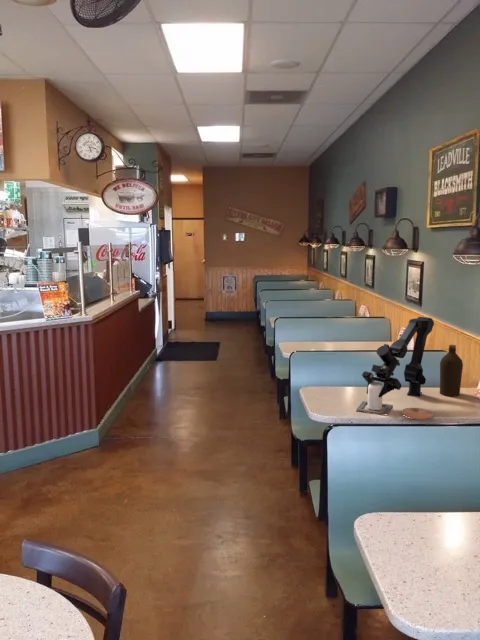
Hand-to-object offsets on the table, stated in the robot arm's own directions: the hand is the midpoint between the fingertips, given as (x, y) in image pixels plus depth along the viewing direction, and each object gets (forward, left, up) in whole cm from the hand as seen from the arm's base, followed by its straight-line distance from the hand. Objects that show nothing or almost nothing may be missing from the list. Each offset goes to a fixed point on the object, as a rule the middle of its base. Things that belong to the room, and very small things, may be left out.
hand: (373, 395), depth 249 cm
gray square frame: (-1, +1, -7) cm, 7 cm away
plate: (0, +20, -7) cm, 21 cm away
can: (-1, +1, -7) cm, 7 cm away
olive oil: (-39, +31, -7) cm, 50 cm away
